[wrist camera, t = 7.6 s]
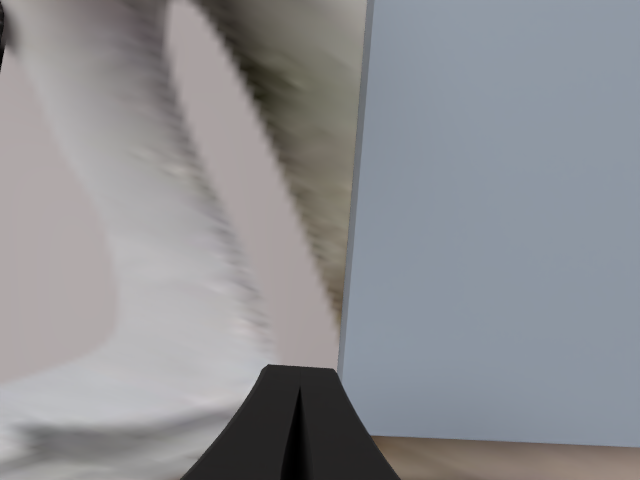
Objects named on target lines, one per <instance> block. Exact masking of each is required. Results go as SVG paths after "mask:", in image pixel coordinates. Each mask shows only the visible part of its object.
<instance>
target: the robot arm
mask: <svg viewBox="0 0 640 480" xmlns="http://www.w3.org/2000/svg"><path fill="white" fill-rule="evenodd" d="M180 480H401V479H400V478H399V477H398V476H397V474H396V473H395V471H394V470H393V469H392V467H391V466H390V464H389V463H388V462H387V460H386V459H385V458H384V456H383V455H382V453H381V452H380V450H379V449H378V447H377V446H376V444H375V443H374V441H373V439H372V438H371V436H370V435H369V433H368V431H367V430H366V428H365V427H364V425H363V423H362V422H361V420H360V418H359V416H358V415H357V413H356V411H355V409H354V407H353V406H352V404H351V402H350V400H349V398H348V396H347V394H346V392H345V390H344V388H343V386H342V383H341V381H340V378H339V376H338V374H337V373H336V372H335V370H334V369H330V368H314V367H300V366H285V365H270V364H268V365H267V366H266V367H264V368H263V369H262V370H261V373H260V375H259V377H258V379H257V381H256V383H255V385H254V386H253V388H252V390H251V391H250V393H249V395H248V396H247V398H246V399H245V401H244V402H243V404H242V405H241V407H240V408H239V409H238V411H237V412H236V414H235V415H234V416H233V418H232V419H231V420H230V422H229V423H228V425H227V426H226V427H225V429H224V430H223V431H222V432H221V434H220V435H219V436H218V437H217V438H216V440H215V441H214V442H213V443H212V444H211V446H210V447H209V448H208V449H207V450H206V451H205V453H204V454H203V455H202V456H201V457H200V459H199V460H198V461H197V462H196V463H195V464H194V465H193V466H192V467H191V468H190V469H189V471H188V472H187V473H186V474H185V475H184V476H183V477H182V478H181V479H180Z"/></svg>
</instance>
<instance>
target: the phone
mask: <svg viewBox="0 0 640 480" xmlns="http://www.w3.org/2000/svg"><path fill="white" fill-rule="evenodd" d="M3 27H4V13H3V9H2V6H1V2H0V43H1V38H2V32H3ZM4 50H5V47H4V46H2V45H1V44H0V72H1V66H2V61H3V56H4Z"/></svg>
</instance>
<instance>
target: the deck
mask: <svg viewBox="0 0 640 480" xmlns="http://www.w3.org/2000/svg"><path fill="white" fill-rule="evenodd" d="M337 374H338V376H339V378H340V381H341V383H342V386H343V388H344V390H345V392H346V394H347V396H348V398H349V400H350V402H351V404H352V406H353V407H354V409H355V411H356V413H357V415H358V416H359V418H360V420H361V422H362V423H363V425H364V427H365V428H366V430H367V431H368V433H369V435H377V436H399V437H421V438H443V439H465V440H488V441H510V442H532V443H554V444H576V445H598V446H621V447H640V0H367V10H366V23H365V35H364V47H363V60H362V72H361V84H360V97H359V109H358V121H357V134H356V146H355V158H354V171H353V183H352V195H351V207H350V220H349V232H348V244H347V257H346V269H345V281H344V294H343V306H342V318H341V331H340V343H339V355H338V367H337Z"/></svg>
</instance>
